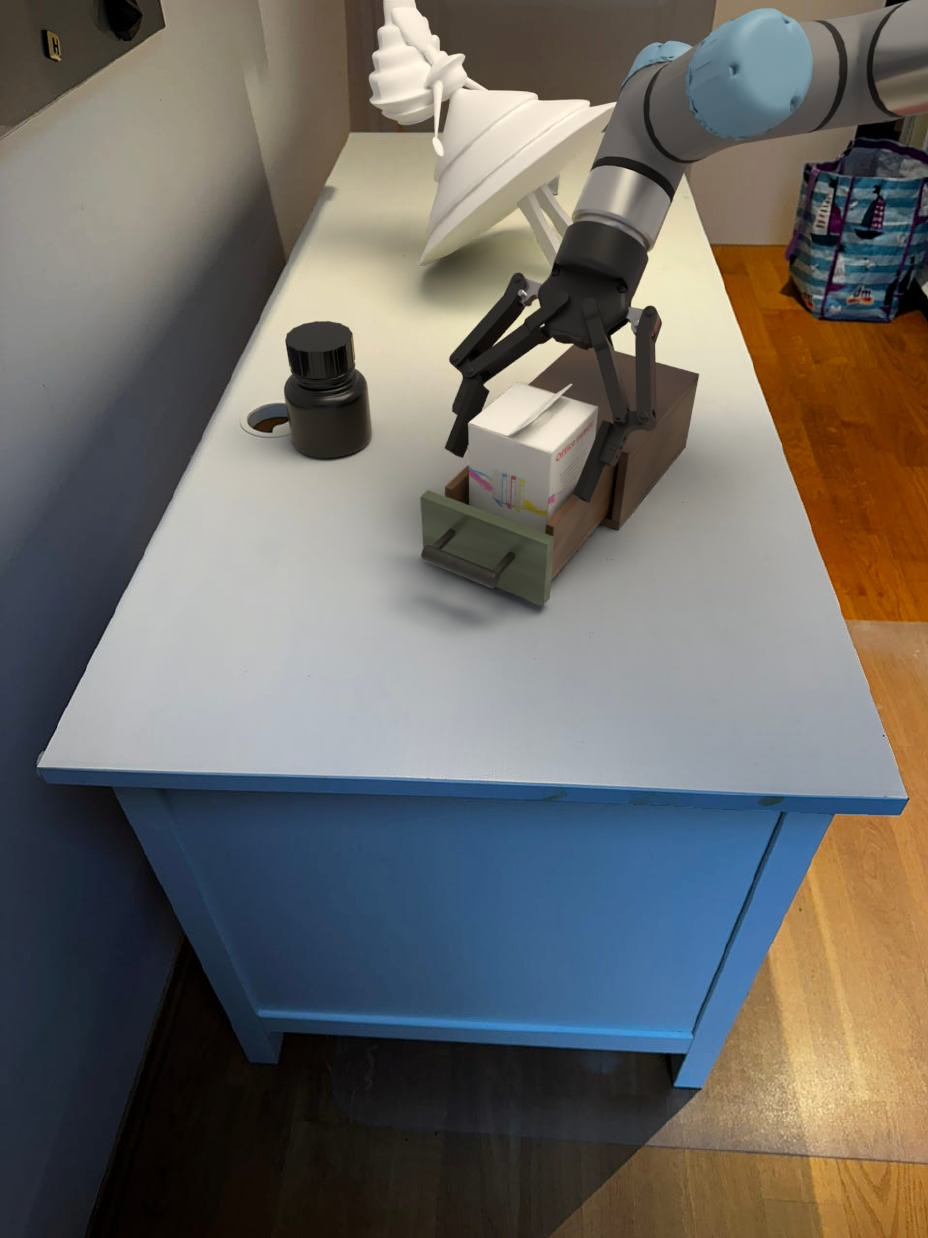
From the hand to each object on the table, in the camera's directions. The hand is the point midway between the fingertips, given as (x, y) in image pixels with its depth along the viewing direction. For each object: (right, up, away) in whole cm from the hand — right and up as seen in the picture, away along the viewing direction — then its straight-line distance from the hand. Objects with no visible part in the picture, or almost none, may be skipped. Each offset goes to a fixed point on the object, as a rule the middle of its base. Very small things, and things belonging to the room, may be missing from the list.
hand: (515, 475), depth 79 cm
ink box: (+2, -3, +6) cm, 8 cm away
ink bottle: (-19, +7, +21) cm, 29 cm away
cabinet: (+9, +4, +16) cm, 19 cm away
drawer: (0, -6, +6) cm, 8 cm away
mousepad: (+4, +68, +83) cm, 108 cm away
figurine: (0, +39, +53) cm, 66 cm away
